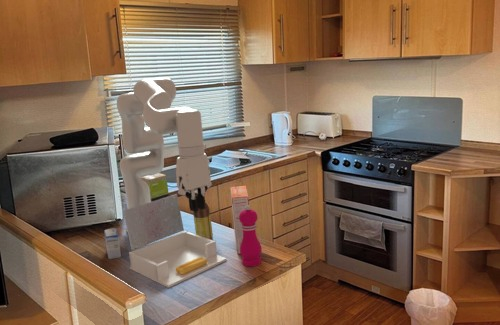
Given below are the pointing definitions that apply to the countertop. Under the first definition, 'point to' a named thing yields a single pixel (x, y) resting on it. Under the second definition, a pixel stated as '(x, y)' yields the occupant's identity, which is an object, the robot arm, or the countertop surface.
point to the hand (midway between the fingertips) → (197, 209)
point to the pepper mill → (249, 238)
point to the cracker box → (238, 211)
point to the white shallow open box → (174, 257)
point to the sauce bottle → (203, 221)
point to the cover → (153, 221)
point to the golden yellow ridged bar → (191, 265)
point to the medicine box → (112, 243)
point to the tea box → (157, 186)
